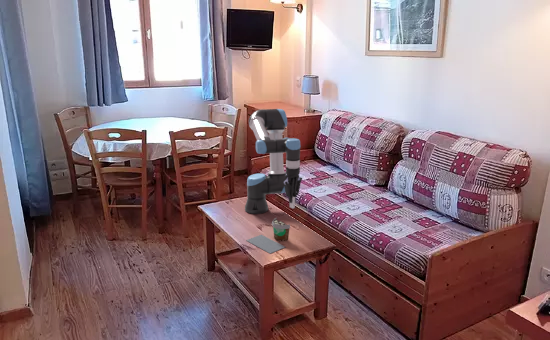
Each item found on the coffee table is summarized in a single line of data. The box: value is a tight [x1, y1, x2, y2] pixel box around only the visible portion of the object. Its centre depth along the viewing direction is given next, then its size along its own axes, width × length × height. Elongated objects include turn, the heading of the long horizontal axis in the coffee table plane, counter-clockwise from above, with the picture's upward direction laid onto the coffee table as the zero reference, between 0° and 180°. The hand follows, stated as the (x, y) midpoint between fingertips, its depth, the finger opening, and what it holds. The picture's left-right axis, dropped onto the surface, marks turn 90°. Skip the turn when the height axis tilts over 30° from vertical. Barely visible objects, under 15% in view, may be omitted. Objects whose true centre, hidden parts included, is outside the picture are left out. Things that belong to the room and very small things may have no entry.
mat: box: [245, 234, 286, 255], centre depth 236 cm, size 11×20×1 cm, turn 42°
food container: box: [271, 217, 291, 242], centre depth 241 cm, size 12×6×10 cm, turn 40°
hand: (292, 207), depth 243 cm, fingers closed
